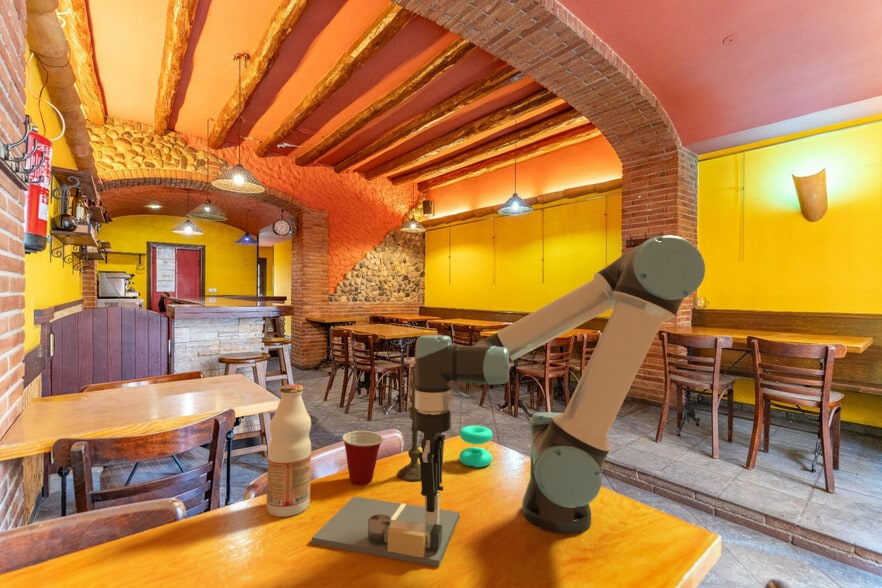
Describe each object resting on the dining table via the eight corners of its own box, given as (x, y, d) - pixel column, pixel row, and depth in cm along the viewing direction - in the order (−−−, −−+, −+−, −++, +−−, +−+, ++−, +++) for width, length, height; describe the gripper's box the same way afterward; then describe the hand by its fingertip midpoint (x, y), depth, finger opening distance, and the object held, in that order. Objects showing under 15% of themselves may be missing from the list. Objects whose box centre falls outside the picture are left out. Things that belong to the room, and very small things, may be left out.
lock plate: (459, 517, 91) (459, 495, 92) (438, 567, 74) (439, 539, 74) (353, 501, 98) (354, 480, 98) (311, 543, 81) (312, 517, 81)
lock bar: (364, 541, 79) (364, 524, 79) (372, 529, 83) (373, 513, 83) (437, 552, 76) (438, 534, 76) (442, 538, 80) (442, 522, 80)
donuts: (484, 423, 131) (498, 432, 121) (483, 454, 130) (497, 466, 121) (454, 425, 127) (467, 435, 118) (454, 458, 127) (466, 470, 118)
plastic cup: (373, 492, 103) (374, 444, 103) (334, 487, 105) (335, 440, 106) (387, 474, 114) (388, 431, 114) (351, 470, 116) (352, 428, 116)
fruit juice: (261, 519, 89) (265, 390, 90) (271, 499, 98) (274, 382, 99) (306, 516, 91) (310, 390, 92) (312, 496, 100) (315, 382, 101)
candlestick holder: (394, 469, 117) (397, 365, 118) (425, 466, 120) (427, 364, 121) (401, 483, 108) (403, 370, 109) (434, 479, 111) (436, 369, 112)
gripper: (443, 419, 78) (442, 545, 77) (456, 403, 91) (455, 511, 90) (406, 416, 80) (404, 539, 79) (423, 401, 92) (422, 507, 92)
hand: (432, 524), depth 84 cm, fingers closed
